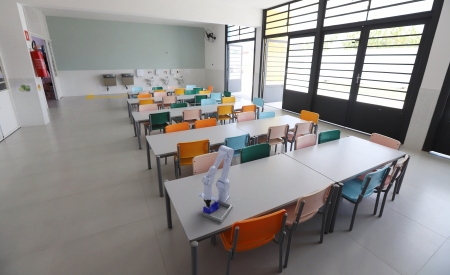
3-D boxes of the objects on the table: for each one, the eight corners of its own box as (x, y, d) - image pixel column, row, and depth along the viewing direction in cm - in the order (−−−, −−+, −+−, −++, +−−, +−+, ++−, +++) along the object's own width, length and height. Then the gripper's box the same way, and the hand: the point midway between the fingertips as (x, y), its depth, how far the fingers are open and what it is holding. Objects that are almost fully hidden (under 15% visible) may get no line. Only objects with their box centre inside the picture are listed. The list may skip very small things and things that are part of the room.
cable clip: (214, 205, 168) (215, 199, 166) (218, 208, 165) (218, 202, 163) (202, 212, 160) (201, 205, 158) (205, 216, 157) (205, 209, 155)
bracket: (215, 201, 172) (215, 199, 171) (232, 207, 166) (232, 204, 165) (203, 215, 157) (203, 213, 156) (221, 222, 151) (221, 219, 150)
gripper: (196, 191, 159) (197, 206, 164) (214, 196, 153) (214, 212, 158) (201, 186, 165) (202, 201, 170) (218, 191, 159) (218, 207, 164)
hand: (208, 206), depth 164 cm, fingers closed
